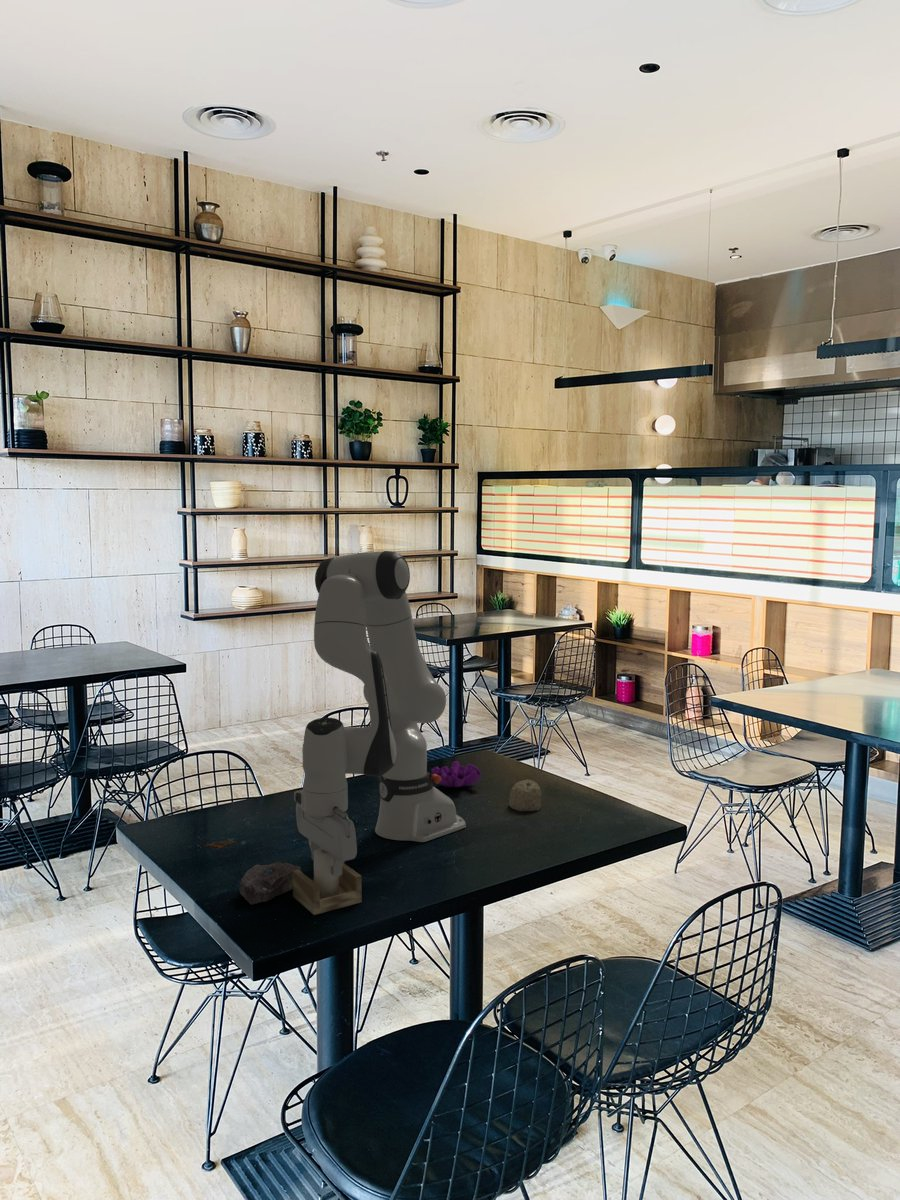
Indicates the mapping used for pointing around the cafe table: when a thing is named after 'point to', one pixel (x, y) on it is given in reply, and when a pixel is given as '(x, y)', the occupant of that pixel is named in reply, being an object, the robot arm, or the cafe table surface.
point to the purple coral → (457, 775)
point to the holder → (348, 895)
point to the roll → (325, 874)
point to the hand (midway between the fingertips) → (326, 867)
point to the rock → (267, 882)
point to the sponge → (525, 796)
